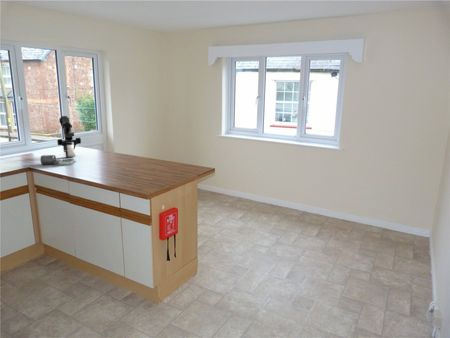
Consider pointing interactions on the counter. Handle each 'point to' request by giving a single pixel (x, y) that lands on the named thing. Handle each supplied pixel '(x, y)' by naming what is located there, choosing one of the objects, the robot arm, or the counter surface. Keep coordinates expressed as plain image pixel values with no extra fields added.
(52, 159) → the motor
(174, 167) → the counter surface
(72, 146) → the pump
